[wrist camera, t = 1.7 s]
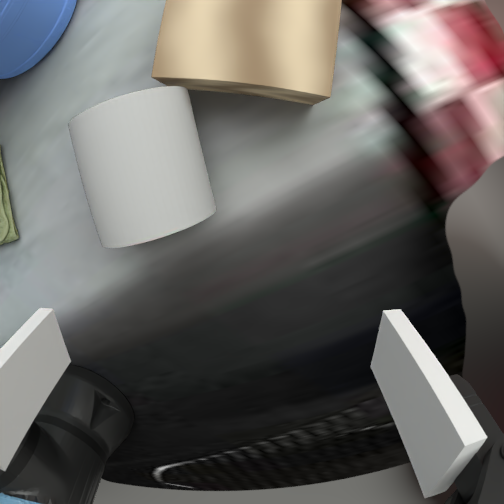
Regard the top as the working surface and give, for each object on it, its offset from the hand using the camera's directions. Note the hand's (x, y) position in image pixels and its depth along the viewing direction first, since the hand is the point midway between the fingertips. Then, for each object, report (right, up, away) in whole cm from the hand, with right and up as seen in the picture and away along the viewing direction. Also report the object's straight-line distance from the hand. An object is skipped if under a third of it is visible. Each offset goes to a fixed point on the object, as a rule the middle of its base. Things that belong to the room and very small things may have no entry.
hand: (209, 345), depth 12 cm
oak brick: (+2, +24, +13) cm, 27 cm away
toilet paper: (-7, +12, +18) cm, 22 cm away
